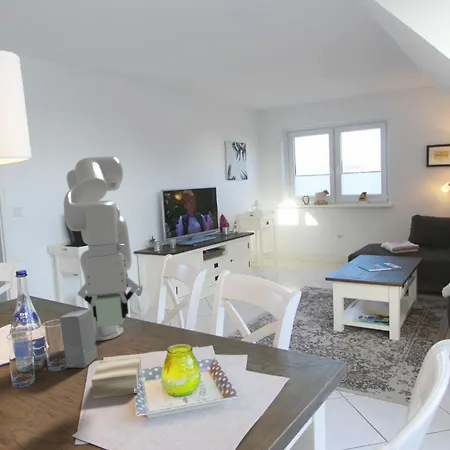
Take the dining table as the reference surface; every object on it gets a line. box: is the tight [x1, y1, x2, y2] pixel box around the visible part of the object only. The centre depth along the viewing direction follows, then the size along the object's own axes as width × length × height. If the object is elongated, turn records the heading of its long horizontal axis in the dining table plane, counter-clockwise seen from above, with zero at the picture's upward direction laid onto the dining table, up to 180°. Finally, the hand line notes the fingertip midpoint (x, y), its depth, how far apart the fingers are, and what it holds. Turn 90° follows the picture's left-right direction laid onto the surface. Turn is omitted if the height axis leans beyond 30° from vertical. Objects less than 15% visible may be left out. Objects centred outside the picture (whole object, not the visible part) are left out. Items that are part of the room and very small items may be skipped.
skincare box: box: [59, 308, 99, 368], centre depth 129 cm, size 8×7×16 cm
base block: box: [91, 356, 142, 400], centre depth 112 cm, size 11×11×5 cm
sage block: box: [95, 293, 126, 327], centre depth 110 cm, size 6×6×7 cm
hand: (111, 317), depth 111 cm, fingers closed on sage block, 6 cm apart
